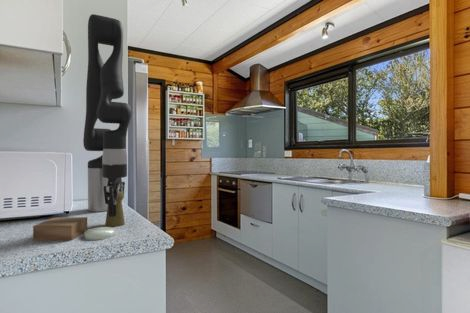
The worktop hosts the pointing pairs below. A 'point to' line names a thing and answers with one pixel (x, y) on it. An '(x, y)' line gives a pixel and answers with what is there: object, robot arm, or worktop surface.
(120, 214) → the olive stamp handle
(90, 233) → the white domed disc
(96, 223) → the worktop surface
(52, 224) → the walnut plinth
